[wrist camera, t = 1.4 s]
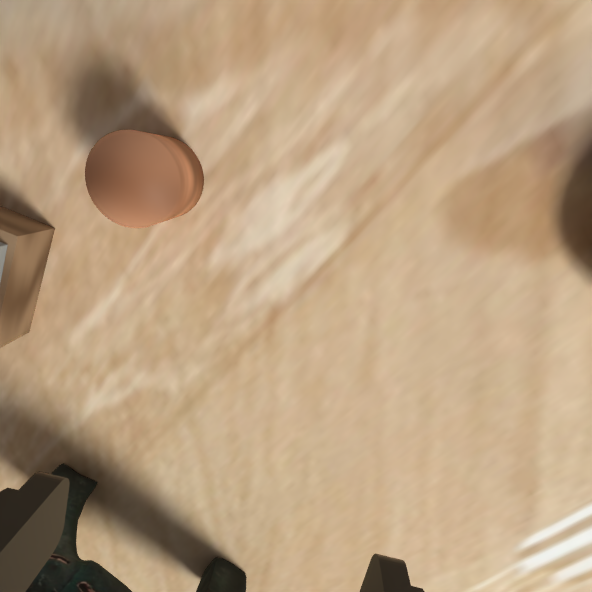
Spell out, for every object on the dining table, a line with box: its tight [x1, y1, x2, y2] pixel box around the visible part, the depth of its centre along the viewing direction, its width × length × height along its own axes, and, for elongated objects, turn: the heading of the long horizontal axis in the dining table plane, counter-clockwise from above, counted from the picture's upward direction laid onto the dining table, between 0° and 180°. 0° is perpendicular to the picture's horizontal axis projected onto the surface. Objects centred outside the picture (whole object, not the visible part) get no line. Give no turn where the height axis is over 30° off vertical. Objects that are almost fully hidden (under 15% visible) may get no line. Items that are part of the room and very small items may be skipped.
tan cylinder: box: [85, 129, 204, 228], centre depth 26 cm, size 5×5×5 cm
